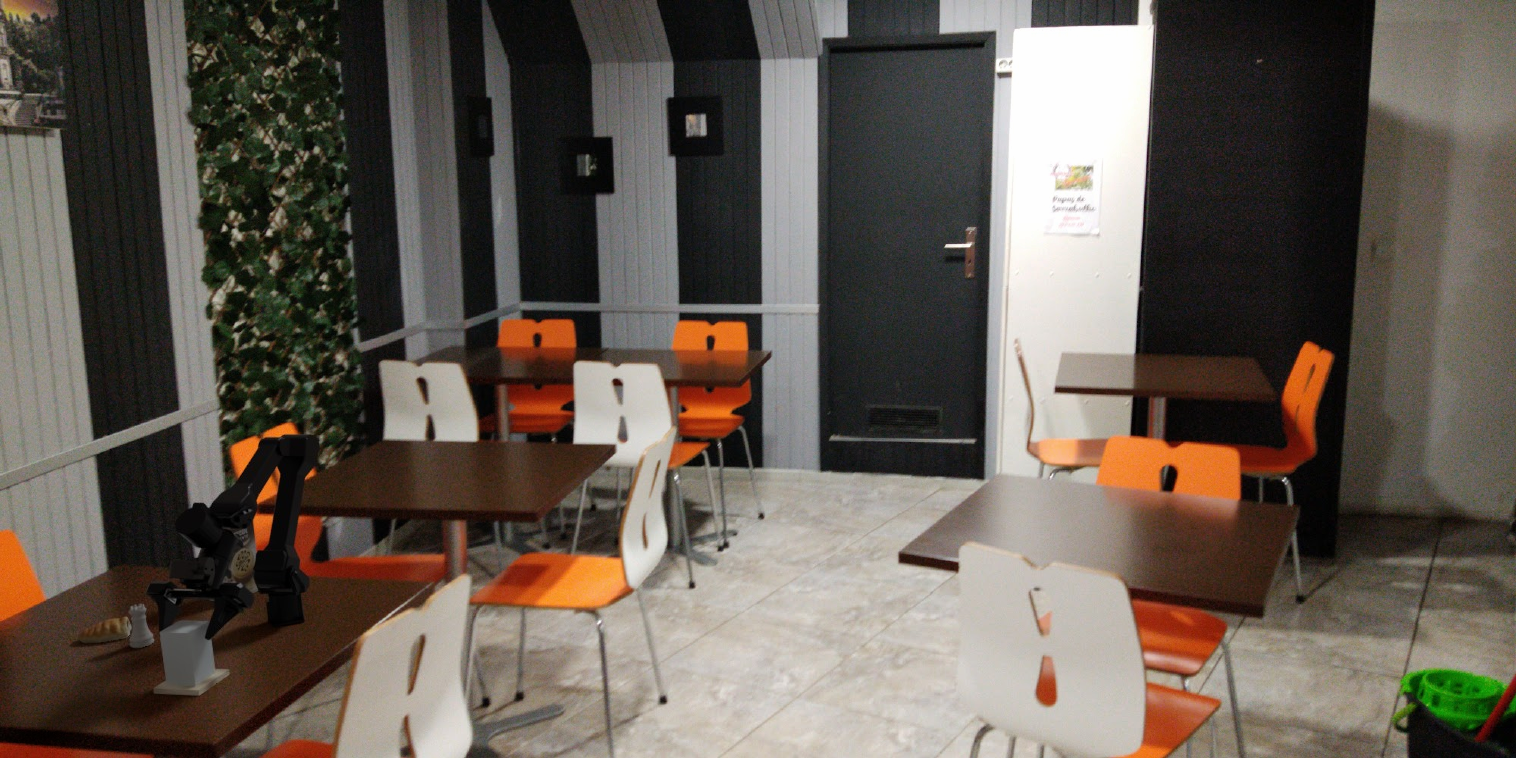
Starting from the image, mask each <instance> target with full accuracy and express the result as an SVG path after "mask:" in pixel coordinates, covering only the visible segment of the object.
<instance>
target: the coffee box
mask: <svg viewBox="0 0 1516 758" xmlns="http://www.w3.org/2000/svg"><path fill="white" fill-rule="evenodd" d="M254 526H255V525H254V521H253V522H252V524H251V525H250V526H249V527H248V528H245V529H228V530H230V531H232V532H233V533H234V534H240V538H241V540H242V541H243V545H244V547H243V548H235V551H234V554H233V556H232V559H231V562H230V564H229V567H228V569H229V570H230V571H231V574H230V576H225V578H224V580H223V583H241V584H242V585H244V586H245V587H246V588H247V589H248V590H250V591H251V592H252V593H253V594H254V593H257V592H259V591H258V589H257V586H256V584H255V581H254V578H253V571H254V570H253V567H254V565H255V558H256V553H257V551H258V550H257V543H256V536H255V527H254ZM223 583H222V584H223ZM209 601H210V602H214V600H209Z"/></svg>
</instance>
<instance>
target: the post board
mask: <svg viewBox="0 0 1516 758" xmlns="http://www.w3.org/2000/svg"><path fill="white" fill-rule="evenodd" d="M215 672H216V673H214V674H213V675H212V676H210V677H209V678H207V679H206V680H204V681H203V682H201V683H200V684H198V685H197V686H179V685H167V684H166V679H165V680H164V681H162V682H161V683H159V684H158V685H156V686H155V687H153V688H152V689H153V694H157V695H177V696H178V695H179V696H198V697H199V696H201V695H202V694H203V693H204V694H205V692H207V691H208V690H210V689H211V688H212V687H214V686H215V685H217V684H218V683H220V682H221V681H222V680H224V679H225V678H226V677H228V676H230V669H229V668H226V669H225V668H215ZM216 683H217V684H216Z"/></svg>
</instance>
